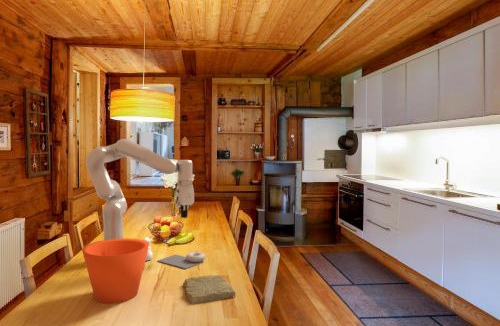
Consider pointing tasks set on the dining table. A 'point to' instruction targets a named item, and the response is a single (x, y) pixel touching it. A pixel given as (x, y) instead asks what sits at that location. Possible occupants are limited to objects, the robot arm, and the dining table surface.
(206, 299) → the stone slab
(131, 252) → the flowerpot
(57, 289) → the dining table surface
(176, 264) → the rubber mat
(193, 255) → the donut
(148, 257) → the white creature statuette
